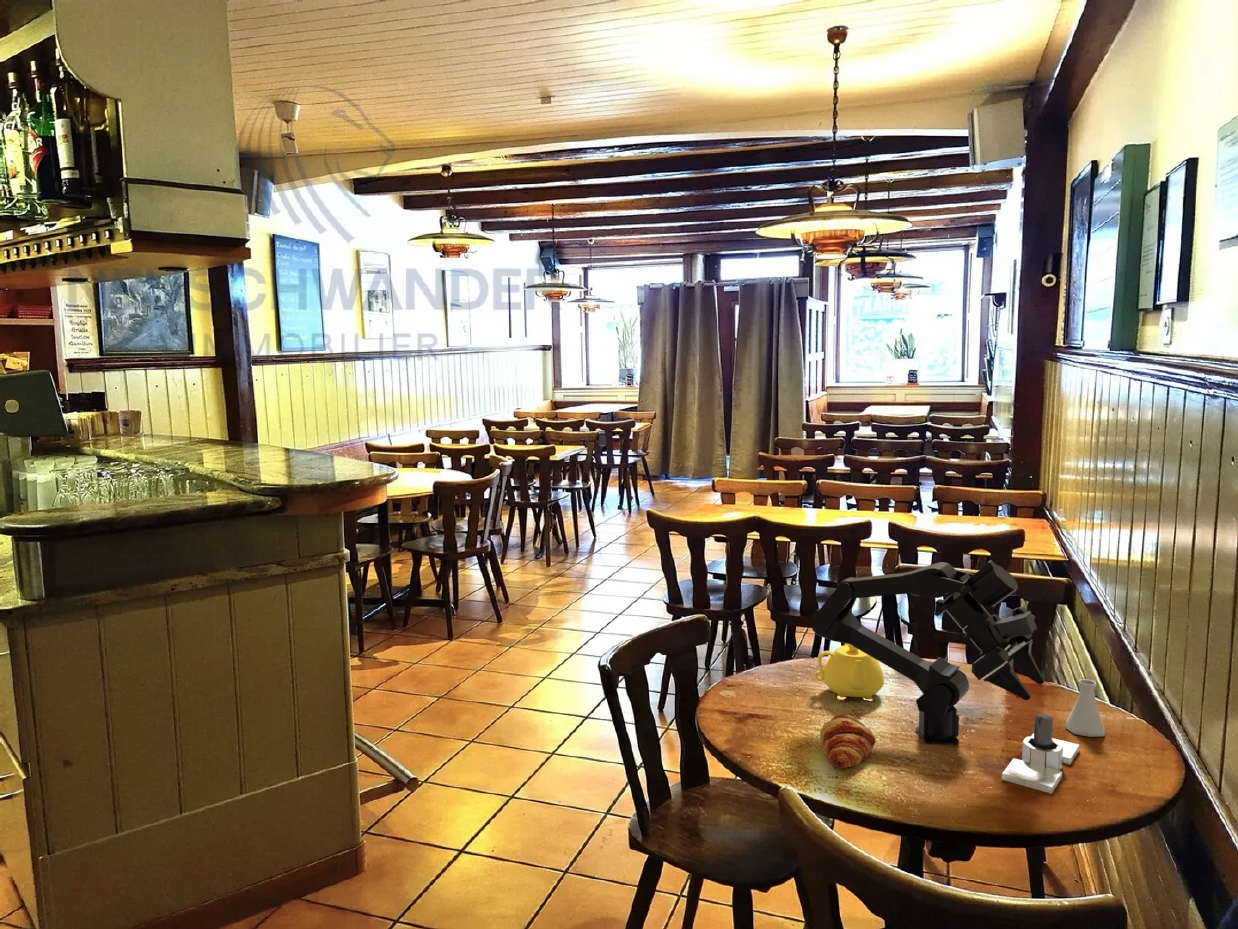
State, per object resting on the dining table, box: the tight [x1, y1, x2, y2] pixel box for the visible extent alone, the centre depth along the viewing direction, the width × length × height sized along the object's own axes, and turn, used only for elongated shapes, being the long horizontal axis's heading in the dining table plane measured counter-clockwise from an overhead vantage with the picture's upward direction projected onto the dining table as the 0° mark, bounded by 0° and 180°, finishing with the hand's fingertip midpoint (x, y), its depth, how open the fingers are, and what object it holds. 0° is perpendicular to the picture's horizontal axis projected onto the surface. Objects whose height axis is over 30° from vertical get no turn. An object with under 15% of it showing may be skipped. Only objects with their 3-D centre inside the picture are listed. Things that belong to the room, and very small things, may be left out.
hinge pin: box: [1033, 713, 1054, 750], centre depth 155 cm, size 3×3×9 cm
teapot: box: [814, 643, 885, 699], centre depth 189 cm, size 20×15×12 cm
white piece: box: [1001, 732, 1080, 795], centre depth 156 cm, size 8×20×4 cm, turn 140°
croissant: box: [819, 714, 876, 769], centre depth 163 cm, size 21×10×8 cm, turn 162°
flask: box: [1064, 678, 1106, 738], centre depth 169 cm, size 7×7×10 cm
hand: (1035, 691), depth 155 cm, fingers open, 9 cm apart
